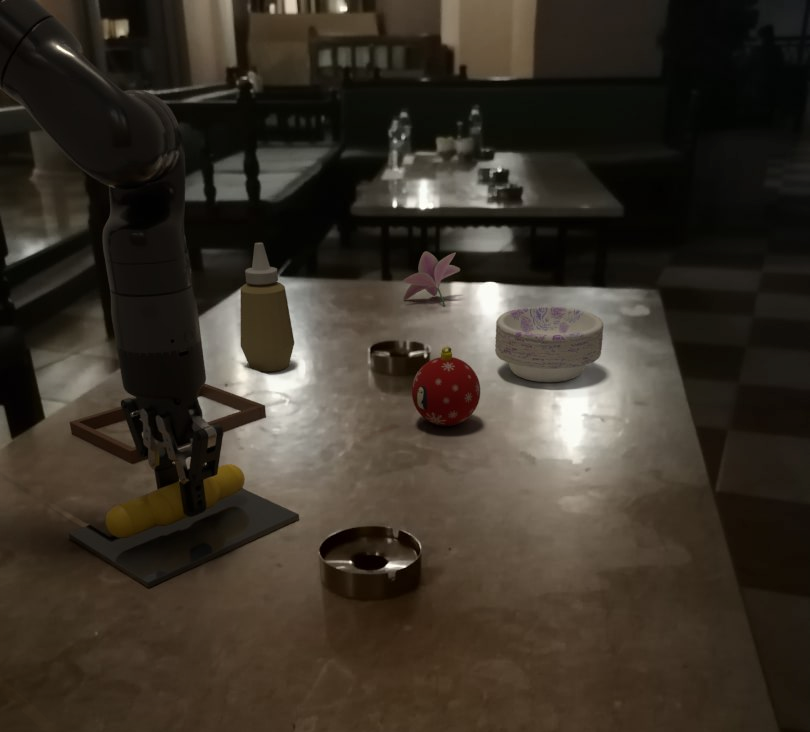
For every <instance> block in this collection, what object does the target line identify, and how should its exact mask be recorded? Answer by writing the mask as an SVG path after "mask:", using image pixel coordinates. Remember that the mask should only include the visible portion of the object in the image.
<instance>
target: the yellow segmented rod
mask: <svg viewBox="0 0 810 732" xmlns="http://www.w3.org/2000/svg"><path fill="white" fill-rule="evenodd" d="M245 477H246V476H245V474H244V472H243V470H242V469H241V468H240V467H239V466H237V465H235V464H232V463H226V464H223V465H220V466H218V473H217V475H215V476H213V477H209V478H206V479H204V480H203V482H204V490H205V498H206V509H209V508H211V507H212V506H214V505H215V504H216V503H217V501H219V500H221V499H224V498H226V497H229V496H231V495H233V494H236V493H238V492H239V491H240V490H241V489H242V488H243V487H244V486H245V483H246V482H245V481H246V478H245ZM179 482H180V480H179V481H178V482H176V483H173V484H171V485H168V486H165V487H163V488H160V489H157V488H156V489H155V490H153V491H151V492H150V493H146V494H144V495H141V496H139V497H136V498H133V499H131V500H128V501H126V502H122V503H121V504H118V505H116V506H113V507H112V508H111V509H110V510H109V511H108V512H107V514H106V516H105V526H106V529H107V531H108V532H109V533H110V534H111V535H112V536H115V537H118V538H128V537H131V536H134V535H136V534H139V533H141V532H143V531H146V530H148V529H151V528H153V527H156V526H167V525H170V524H172V523H175V522H177V521H180V520H182V519H184V518H187V517H189V516H187V515H185V514H184V512H183V505H182V499H181V492H180V485H179ZM243 489H244V488H243Z"/></svg>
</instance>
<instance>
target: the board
mask: <svg viewBox="0 0 810 732" xmlns="http://www.w3.org/2000/svg"><path fill="white" fill-rule="evenodd" d="M298 520H300V514H299V513H297V512H295V511H292V510H291V509H288V508H287V507H284V506H282V505H280V504H278V503H275V502H273V501H271V500H269V499H266V498H264V497H262V496H261V495H258V494H256V493H253V492H252V491H249V490H247V489H245V488H242V489H241V490H240V491H239V492H238V493H236V494H233V495H231V496H229V497H226V498H224V499H221V500H219V501H217V503H216V504H215V505H214V506H212V507H211V508H209V509H206V510H205V511H204V512H203V513H200V514H198V515H195V516H193V517H187V518H184V519H182V520H180V521H177V522H175V523H172V524H170V525H167V526H156V527H153V528H151V529H148V530H146V531H143V532H141V533H139V534H136V535H134V536H131V537H128V538H118V537H115V536H114V535H112V536H110V535H108V534H106V533H105V532H103V531H101V530H99V529H98V528H96V527H95V526H93V525H91V524H88V525H87V526H84V527H81V528H79V529H75V530H73V531H71V532H69V533H68V538H69V539H70V540H72V541H73V542H75V543H76V544H77V545H79V546H81V547H83V548H84V549H86V550H87V551H89V552H90V553H92V554H94V555H95V556H96V557H98V558H99V559H101V560H103V561H105V562H107V564H109V565H111V566H113V567H114V568H116V569H118V570H119V571H121V572H122V573H124V574H125V575H127V576H129V577H130V578H132V579H133V580H135V581H137V582H138V583H140V584H141V585H142V586H145V587H146V588H148V589H149V588H153V587H154V586H156V585H158V584H160V583H163V582H165V581H167V580H170V579H172V578H174V577H176V576H178V575H180V574H182V573H185V572H187V571H189V570H191V569H193V568H196V567H198V566H200V565H202V564H205V563H207V562H208V561H211V560H213V559H215V558H217V557H220V556H222V555H224V554H226V553H229V552H231V551H233V550H235V549H237V548H239V547H242V546H244V545H246V544H248V543H250V542H252V541H254V540H256V539H259V538H261V537H263V536H265V535H268V534H270V533H271V532H272V533H273V532H274V531H277V530H278V529H281V528H283V527H286V526H287V525H290V524H292V523H294V522H296V521H298Z"/></svg>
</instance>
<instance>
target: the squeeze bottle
mask: <svg viewBox="0 0 810 732" xmlns="http://www.w3.org/2000/svg"><path fill="white" fill-rule="evenodd" d="M251 265H252V266H251V267H248V268H246V269H245V270H244V275H245V281H246V282H245V283H244V284H243V285H242V286H241V287H240V348H241V350H242V353H243V355H244V357H245V360H246V361H247V364H248V366H249V368H250V369H251V370H253V371H257V372H276V371H282V370H284V369H286V368H288V367H289V366H290V363H291V358H292V355H293V352H294V351H293V350H294V346H295V338H294V332H293V326H292V320H291V315H290V309H289V303H288V297H287V291H286V287H285V285H284V284H283V283H282V282H279V273H278V268H277V267H274V266H270V265H271V264H270V263H269V260H268V256H267V252H266V248H265V245H264V243H263V242H255V243H254V247H253V256H252V263H251Z"/></svg>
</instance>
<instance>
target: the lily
mask: <svg viewBox="0 0 810 732" xmlns="http://www.w3.org/2000/svg"><path fill="white" fill-rule="evenodd" d="M456 253H457V252H452V253H450V254H447V256H444V257H443V258H442V259H440V260H438V258H437V257H436V256H435V255H434V254H432V253H431V252H430V251H427V250H426V251H425V250H424V252H422V255H421V257H420V259H419V261H418V267H417V269H418V272H416V273H413V274H411V275H408V276H407V277H406V278H405V277H404V279H403V280H402V283H405V284H409V287H408V288H407V289H406V291H405V294H404V295H403V301H406V300H408V299H409V298H411V297H413V296H414V295H416V294H417V293H420V292H422V291H423V290H425V291H426V292H427V293H428V294H429V295H431V296H433V297H436V296H437V294H439V297H440V300H441V303H442V305H443V307H446V304H445V301H444V298H443V295H442V293H441V290H440V285H441V281H442V280H444V279H446V278H448V277H450V276H452V275H454V274H457V273H459V272H460V271H461V268H460V267H458V266H456V265H453V264H451V262H452V261H453V259H454V257H455V256H456Z"/></svg>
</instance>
